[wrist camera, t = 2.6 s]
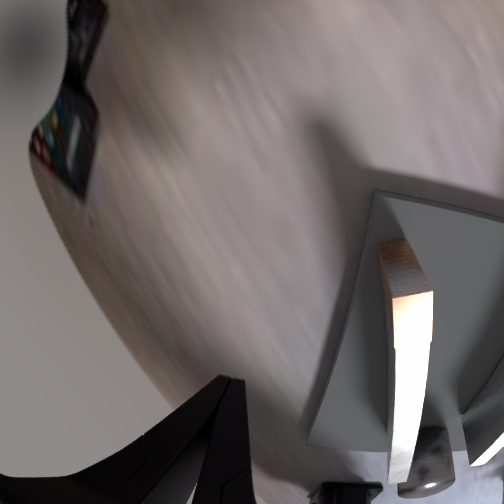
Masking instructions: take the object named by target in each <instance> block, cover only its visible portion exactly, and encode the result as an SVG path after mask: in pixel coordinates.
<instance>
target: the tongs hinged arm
mask: <svg viewBox="0 0 504 504" xmlns="http://www.w3.org/2000/svg"><path fill="white" fill-rule="evenodd" d="M377 247H378V255H379V263H380V271H381V281H382V288H383V292H384V300H385V313H386V329H387V350H388V421H387V460H388V478H387V484H393V483H398V496H400V497H402V498H409V499H413V498H421V497H426V496H430V495H433V494H436V493H439V492H441V491H443V490H445V489H447V488H448V487H450V486H451V485H452V484H453V483H454V482H455V472H454V464H453V457H452V450H451V444H450V438H449V433H448V431H447V430H446V429H444V428H441V427H429V428H424V429H420V430H418V429H419V424H420V418H421V412H422V406H423V399H424V392H425V384H426V375H427V365H428V354H429V342H431V335H432V314H433V290H432V288H431V286H430V284H429V282H428V279H427V277H426V275H425V273H424V271H423V269H422V267H421V265H420V263H419V261H418V259H417V257H416V255H415V253H414V251H413V249H412V247H411V245H410V243H409V241H408V240H407V238H406V239H400V240H395V241H389V242H383V243H377Z"/></svg>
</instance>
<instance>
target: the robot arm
mask: <svg viewBox="0 0 504 504" xmlns="http://www.w3.org/2000/svg"><path fill="white" fill-rule="evenodd" d="M197 481H198V482H197ZM196 483H197V486H196V489H195V493H194V497H193V500H192V504H257V503H256V498H255V493H254V486H253V478H252V469H251V454H250V441H249V428H248V414H247V400H246V386H245V380H243V379H239V378H232V377H230V376H226V375H218V376H217V377H216V378H214V379H213V380H212V381H211V382H210V383H208V384H207V385H206V386H205V387H203V388H202V389H201V390H200V391H199V392H197V393H196V394H195V395H194V396H192V397H191V398H190V399H189V400H187V401H186V402H185V403H184V404H182V405H181V406H180V407H178V408H177V409H176V410H175V411H173V412H172V413H171V414H169V415H168V416H167V417H166V418H165V419H163V420H162V421H161V422H159V423H158V424H156V425H155V426H154V427H153V428H152V429H150V430H148V431H147V432H146V433H144V435H142V436H140V437H139V438H138V439H136V440H135V441H133V442H132V443H131V444H129V445H128V446H126V447H125V448H123V449H122V450H120V451H118V452H116V453H114V454H113V455H111V456H109V457H107V458H105V459H103V460H102V461H100V462H98V463H96V464H94V465H92V466H90V467H88V468H86V469H83V470H81V471H79V472H77V473H74V474H71V475H68V476H61V477H33V478H32V477H9V476H5V475H3V474H0V504H186V503H187V501H188V499H189V497H190V495H191V493H192V491H193V489H194V487H195V485H196ZM382 491H383V486H367V485H347V484H334V483H322V484H321V485H320V487H319V488H318V490H317V491H316V492H315V494H314V495H313V497H312V498H311V499H310V502H309V504H371V501H372V500H373V499H374V498H375V497H377V496H378V495H379V494H380V493H381V492H382Z"/></svg>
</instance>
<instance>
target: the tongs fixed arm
mask: <svg viewBox="0 0 504 504" xmlns="http://www.w3.org/2000/svg"><path fill="white" fill-rule="evenodd" d="M461 422H462V427H463V431H464V436H465V441H466V446H467V452H468V458H469V464H470V466H475V465H482V464H485V463H486V462H487V461H488V460H489V459H490V458H491V457H492V456H493V455H495V454H496V453H497V452H498V451H499V450H500V449H501V448H502V447H503V446H504V357H503V358H502V360H501V362H500V363H499V365H498V366H497V368H496V370H495V371H494V373H493V374H492V376H491V377H490V379H489V380H488V382H487V383H486V385H485V386H484V388H483V389H482V390H481V392H480V393H479V395H478V396H477V397H476V399H475V400H474V402H473V403H472V404H471V406H470V407H469V408H468V409H467V411H466V412H465V413H464V415H463V416H462V417H461Z"/></svg>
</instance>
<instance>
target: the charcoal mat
mask: <svg viewBox="0 0 504 504" xmlns="http://www.w3.org/2000/svg"><path fill="white" fill-rule="evenodd" d="M406 238H407V240H408V241H409V243H410V245H411V247H412V249H413V251H414V253H415V255H416V257H417V259H418V261H419V263H420V265H421V267H422V269H423V271H424V273H425V275H426V277H427V279H428V282H429V284H430V286H431V288H432V290H433V314H432V335H431V342H429V354H428V365H427V375H426V384H425V392H424V399H423V406H422V412H421V418H420V424H419V429H418V430H420V429H424V428H429V427H441V428H444V429H446V430H447V431H448V433H449V438H450V444H451V450H452V451H463V450H467V446H466V441H465V436H464V431H463V427H462V422H461V417H462V416H463V415H464V413H465V412H466V411H467V409H468V408H469V407H470V406H471V404H472V403H473V402H474V400H475V399H476V397H477V396H478V395H479V393H480V392H481V390H482V389H483V388H484V386H485V385H486V383H487V382H488V380H489V379H490V377H491V376H492V374H493V373H494V371H495V370H496V368H497V366H498V365H499V363H500V362H501V360H502V358H503V357H504V219H503V218H500V217H496V216H492V215H488V214H485V213H481V212H477V211H473V210H469V209H465V208H460V207H456V206H452V205H448V204H443V203H439V202H434V201H430V200H425V199H420V198H416V197H411V196H406V195H401V194H395V193H390V192H385V191H379V190H374V193H373V199H372V205H371V210H370V216H369V221H368V226H367V231H366V236H365V241H364V245H363V250H362V255H361V259H360V264H359V268H358V272H357V276H356V280H355V285H354V289H353V293H352V296H351V300H350V304H349V308H348V312H347V315H346V319H345V323H344V326H343V330H342V333H341V337H340V340H339V343H338V347H337V350H336V353H335V356H334V360H333V363H332V366H331V369H330V372H329V375H328V378H327V381H326V384H325V387H324V390H323V393H322V396H321V399H320V402H319V404H318V407H317V410H316V413H315V415H314V418H313V421H312V424H311V426H310V429H309V431H308V434H307V439H306V445H309V446H316V447H324V448H333V449H343V450H354V451H369V452H387V421H388V350H387V329H386V313H385V300H384V292H383V288H382V281H381V271H380V263H379V255H378V247H377V243H383V242H389V241H395V240H400V239H406Z"/></svg>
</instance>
